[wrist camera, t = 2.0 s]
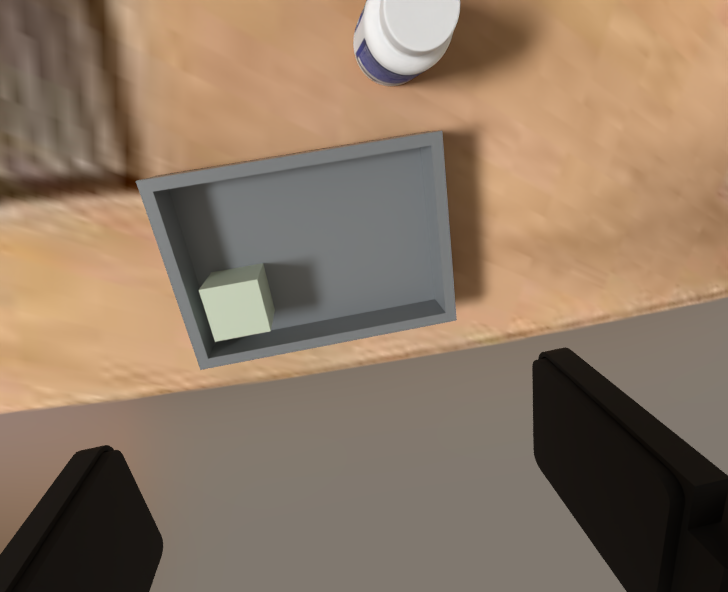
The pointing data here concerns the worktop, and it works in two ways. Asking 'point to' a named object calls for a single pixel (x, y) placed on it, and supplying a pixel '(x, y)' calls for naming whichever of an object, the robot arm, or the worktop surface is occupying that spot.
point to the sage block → (238, 302)
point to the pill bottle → (403, 37)
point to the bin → (313, 242)
